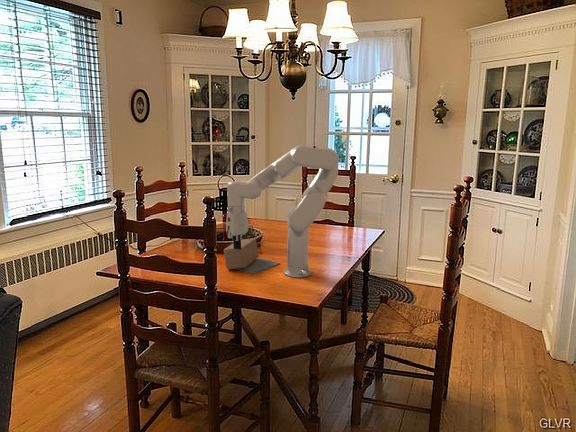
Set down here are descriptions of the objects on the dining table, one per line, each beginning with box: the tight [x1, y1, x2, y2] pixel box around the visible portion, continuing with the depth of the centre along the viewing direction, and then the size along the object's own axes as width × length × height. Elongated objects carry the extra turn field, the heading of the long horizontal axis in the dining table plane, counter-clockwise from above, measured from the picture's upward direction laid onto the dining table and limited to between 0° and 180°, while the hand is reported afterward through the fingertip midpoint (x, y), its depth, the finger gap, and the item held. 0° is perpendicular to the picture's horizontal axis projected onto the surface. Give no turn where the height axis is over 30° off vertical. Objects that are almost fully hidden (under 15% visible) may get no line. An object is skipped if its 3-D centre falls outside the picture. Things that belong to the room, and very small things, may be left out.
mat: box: [236, 257, 281, 275], centre depth 220 cm, size 19×13×1 cm
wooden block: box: [223, 237, 259, 270], centre depth 221 cm, size 10×10×20 cm
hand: (237, 248), depth 207 cm, fingers closed
